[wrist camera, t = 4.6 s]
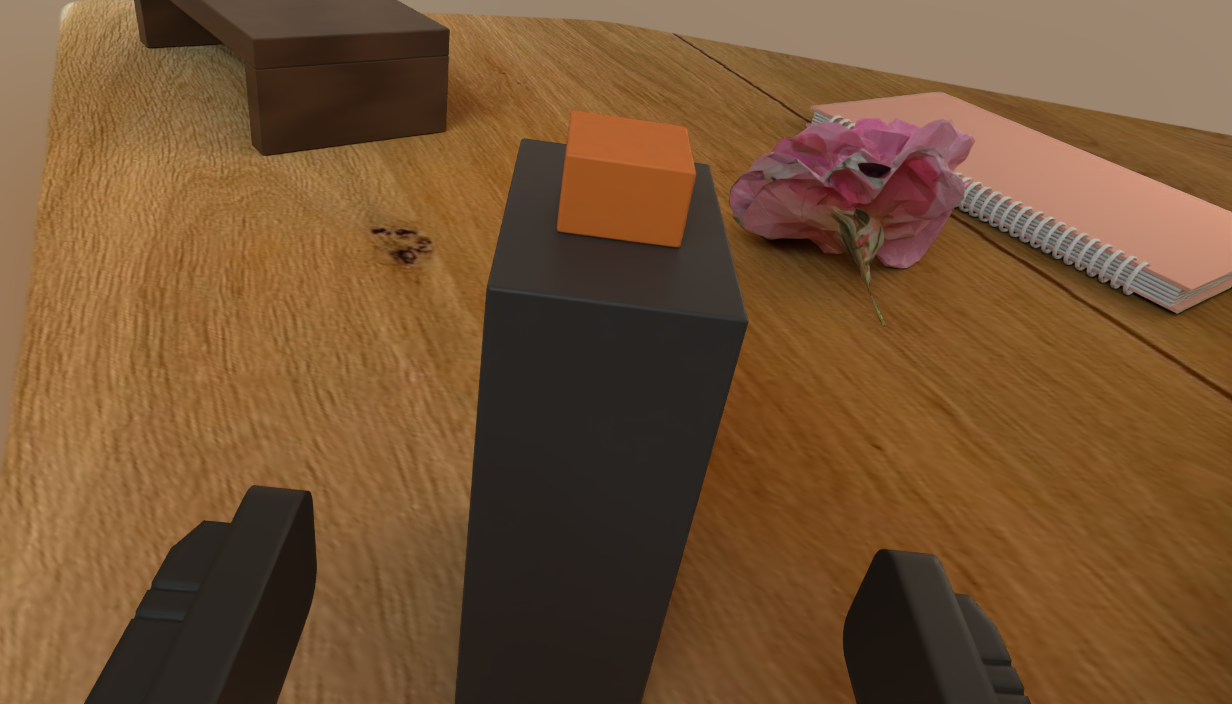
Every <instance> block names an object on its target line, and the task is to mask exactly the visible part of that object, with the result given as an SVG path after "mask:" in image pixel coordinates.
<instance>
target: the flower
mask: <svg viewBox="0 0 1232 704" xmlns="http://www.w3.org/2000/svg"><path fill="white" fill-rule="evenodd" d="M974 143H975V140H974V138H973V137H972V135H971V134H970V135H969V134H966V133H964V132H962V131H960V130H958V129H956V128H955V126H954V124H953V121H952V119H940V120H935V121H931V122H929V123H928V124H926V125H924V126H923V127H922V128H920V127H918V126H917V125H913V124H910V123H907V122H905V121H903V120H900V119H898V118H896V117H895V119H894V120H893V121H891V122H889V123H885V122H884V121H882V120H881V119H880V118H863V119H860V120H857V121H856V124H855V126H854V128H852V129H848V128H846V127H844V126H843V125H841V124H840V123H832V122H823V123H819V124H816V125H812V126H809V127H807V128H806V129H805V130H804V131H802V132H801V133H800V134H798V135H797V136H795V137H794V139H791V138H783V139H782V140H781V141H780V142H779V143H778V144H777V145H776V146H775V148H774V149H773V151H772V152H769V153H767V154H764V155H762V156H759V157H758V158H757V159H756V160H755V161H754V162H753V164H752V166H751V168H750V169H749V171H748V172H746V173H745V174H740V176H739V178H738V180H737V181H736V182H735V183H734V185H733V186H732V187H731V190H730V197H729V203H730V206H731V208H732V210H733V218H734V219H735V220H736V221H737V222H738V223H739V225H740V226H741V227H743V228H744V229H745V230H747V231H748V232H750V233H753V234H757V235H760V236H763V237H764V238H765V239H768V240H773V239H779V238H791V239H804V238H808V239H809V240H811V241H812V242H814V243H815V244H816V245H818V246H819V247H820V248H821V250H822V251H823V252H824V253H831V254H840V253H843V252H845V253H847V254H848V255H849V256H850V257H851V258H852V259H853V261H854V262H855V264H856V265H857V267H858V268H859V269H860V273H861V278H862V280H863V281H864V282H865V284H866V285H867V287H868V290H869V283H870V265H871V263H872V261H873V259H874V257H875V256H876V257H877V258H878V259H879V260H880V261H881V262H882V263H883V264H884V265H885V266H887V267H894V268H908V267H910V266H912V265H913V264H915V263H916V262H917V261H919V260H920V259H921V258H922V256H923V255H924V254H925V253H926V251H927V250H928V248H929V247H930V246H931V245H932V244H933V242H934V241H935V239H936V238H937V236H938V235H939V233H940V231H941V230H942V228H943V226H944V225H945V223H946V221H947V219H948V217H949V216H950V215H951V213H952V209H954V207H955V206H956V205H957V204H958V203H959V202H961V201H962V200H963V199H964V193H965V188H966V186H968V185H970V182H969V181H968V180H967V181H965V182H963V180H962V179H961V178H960V177H959V176H958V175H957V174H956V173H954V170H955V168H956V167H957V166H958V165H959V164H961V163H962V162H963V161H964V160H966V158H967V157H968V155H969V153H970V150H971V148H972V146H973V144H974ZM869 293H870V291H869ZM870 295H871V293H870ZM871 298H872V301H873V303H874V306H875V308H876V311H877V313H878V316H879V318H880V321H881V323H882V325H883V326H884V325H886V324H885V322H884V320H883V318H882V315H881V313H880V311H879V309H878V307H877V305H876V303H875V301H874V299H873V297H872V295H871Z"/></svg>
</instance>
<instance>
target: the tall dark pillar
mask: <svg viewBox="0 0 1232 704" xmlns="http://www.w3.org/2000/svg"><path fill="white" fill-rule="evenodd" d="M747 325H748V317H747V313H746V309H745V305H744V301H743V297H742V293H741V290H740V286H739V282H738V278H737V274H736V270H735V266H734V262H733V258H732V254H731V250H730V246H729V242H728V238H727V234H726V230H725V226H724V222H723V218H722V214H721V210H720V206H719V202H718V199H717V195H716V191H715V187H714V183H713V179H712V175H711V171H710V167H709V165H707V164H700V163H694V161H693V156H692V152H691V147H690V142H689V138H688V133H687V128H686V127H682V126H676V125H669V124H662V123H655V122H648V121H641V120H635V119H628V118H621V117H614V116H607V115H600V114H594V113H587V112H580V111H572V112H571V113H570V120H569V128H568V137H567V144H560V143H553V142H546V141H539V140H532V139H525V138H524V139H522V140H521V143H520V148H519V152H518V156H517V160H516V165H515V169H514V173H513V177H512V182H511V186H510V190H509V195H508V199H507V203H506V207H505V212H504V216H503V220H502V225H501V229H500V233H499V237H498V242H497V246H496V250H495V255H494V259H493V263H492V267H491V272H490V276H489V280H488V284H487V289H486V302H485V315H484V328H483V341H482V354H481V367H480V380H479V393H478V406H477V420H476V433H475V446H474V459H473V472H472V485H471V498H470V511H469V524H468V537H467V550H466V563H465V576H464V589H463V602H462V615H461V628H460V641H459V654H458V667H457V681H456V694H455V704H641V701H642V697H643V694H644V690H645V687H646V683H647V679H648V676H649V672H650V669H651V665H652V662H653V658H654V655H655V651H656V648H657V644H658V640H659V637H660V633H661V630H662V626H663V623H664V619H665V616H666V612H667V609H668V605H669V601H670V598H671V594H672V591H673V587H674V584H675V580H676V577H677V573H678V570H679V566H680V562H681V559H682V555H683V552H684V548H685V545H686V541H687V538H688V534H689V531H690V527H691V523H692V520H693V516H694V513H695V509H696V506H697V502H698V499H699V495H700V492H701V488H702V485H703V481H704V477H705V474H706V470H707V467H708V463H709V460H710V456H711V453H712V449H713V446H714V442H715V438H716V435H717V431H718V428H719V424H720V421H721V417H722V414H723V410H724V407H725V403H726V399H727V396H728V392H729V389H730V385H731V382H732V378H733V375H734V371H735V368H736V364H737V360H738V357H739V353H740V350H741V346H742V343H743V339H744V336H745V332H746V329H747Z"/></svg>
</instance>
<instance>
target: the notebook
mask: <svg viewBox="0 0 1232 704" xmlns="http://www.w3.org/2000/svg"><path fill="white" fill-rule="evenodd" d="M811 109H812V110H814V111H816V112H815V114H817V115H814V116H813V117H815V118H813V120H814V121H812V123H807V124H806V126H807V127H809V126H812V125H816V124H819V123H823V122H832V123H840V124H841V125H843V126H844V127H846V128H848V129H852V128H854V126H855V124H856V121H857V120H860V119H863V118H880V119H881V120H882V121H884V122H885V123H889V122H891V121H893V120H894V119H895V117H896V118H898V119H900V120H903V121H905V122H907V123H910V124H913V125H917V126H918V127H920V128H922V127H923V126H924V125H926V124H928V123H929V122H931V121H935V120H940V119H952V121H953V124H954V126H955V128H956V129H958V130H960V131H962V132H964V133H966V134H969V135H970V134H971V135H972V137H973V138H974V140H975V143H974V144H973V146H972V148H971V150H970V153H969V155H968V157H967V158H966V160H964V161H963V162H962V163H961V164H959V165H958V166H957V167H956V168H955V170H954V173H956V174H957V175H958V176H959V177H960V178H961V179H962V180H963V182H965V181H967V180H968V181H969V182H970V185H968V186H966V188H965V193H964V199H963V200H962V201H961V202H959V203H958V204H957V205H956V206H955V207H959V208H960V210H961V211H963V212H968V211H969V214H970V215H971V216H973V217H977V216H979V219H980V220H981V221H983V222H987V221H989V224H990V226H993V227H997V226H999V229H1000V231H1001V232H1007V231H1009V234H1010V236H1012V237H1018V236H1020V240H1021V241H1022V242H1024V243H1026V242H1029V241H1030V245H1031V246H1032V247H1034V248H1038V247H1040V246H1041V250H1042V252H1043V253H1049V252H1051V251H1052V256H1053V258H1055V259H1060V258H1062V257H1064V259H1063V261H1064V263H1065V264H1067V265H1071V264H1072V263H1074V262H1075V269H1077V270H1079V271H1082V270H1083V269H1085V268H1087V272H1086V273H1087V275H1088V276H1090V277H1092V276H1095V275H1097V274H1099V276H1098V279H1099V281H1100V282H1102V283H1104V282H1107V281H1108V280H1111V283H1110V285H1111V287H1112V288H1115V289H1117V288H1119V287H1120V286H1123V294H1126V295H1130V294H1132V293H1133V292H1135V293H1137V294H1139V295H1141V296H1143V297H1145V298H1147V299H1149V300H1151V301H1153V302H1155V303H1157V304H1159V305H1161V306H1163V307H1165V308H1167V309H1169V310H1171V311H1173V312H1175V313H1177V314H1178V313H1180V312H1182V311H1184V310H1186V309H1188V308H1190V307H1192V306H1194V305H1196V304H1198V303H1200V302H1202V301H1204V300H1206V299H1208V298H1210V297H1212V296H1215V295H1217V294H1219V293H1221V292H1223V291H1225V290H1227V289H1229V288H1231V287H1232V212H1230V211H1227V210H1225V209H1222V208H1220V207H1218V206H1215V205H1213V204H1210V203H1208V202H1206V201H1203V200H1201V199H1198V198H1196V197H1194V196H1191V195H1189V194H1186V193H1184V192H1181V191H1179V190H1177V189H1174V188H1172V187H1169V186H1167V185H1165V184H1162V183H1160V182H1157V181H1155V180H1153V179H1150V178H1148V177H1145V176H1143V175H1141V174H1138V173H1136V172H1133V171H1131V170H1128V169H1126V168H1124V167H1121V166H1119V165H1116V164H1114V163H1112V162H1109V161H1107V160H1104V159H1102V158H1100V157H1097V156H1095V155H1092V154H1090V153H1088V152H1085V151H1083V150H1080V149H1078V148H1075V147H1073V146H1071V145H1068V144H1066V143H1063V142H1061V141H1059V140H1056V139H1054V138H1051V137H1049V136H1047V135H1044V134H1042V133H1039V132H1037V131H1035V130H1032V129H1030V128H1027V127H1025V126H1022V125H1020V124H1018V123H1015V122H1013V121H1010V120H1008V119H1006V118H1003V117H1001V116H998V115H996V114H994V113H991V112H989V111H986V110H984V109H982V108H979V107H977V106H974V105H972V104H969V103H967V102H965V101H962V100H960V99H957V98H955V97H953V96H950V95H948V94H945V93H943V92H932V93H923V94H915V95H906V96H897V97H888V98H879V99H870V100H861V101H852V102H843V103H834V104H826V105H817V106H811ZM963 206H965V207H967V208H965V209H964V208H963ZM973 211H975V212H977V213H974V214H973ZM983 216H985V217H986V218H984V219H983ZM993 221H995V222H996V223H994V224H993ZM1003 226H1005V227H1007V228H1004V229H1003ZM1013 231H1014V232H1016V233H1015V234H1013ZM1024 237H1026V239H1024ZM1035 242H1036V243H1037V244H1036V245H1034V244H1035ZM1046 248H1048V249H1047V250H1046ZM1057 253H1058V254H1059V255H1057ZM1068 259H1070V260H1069V261H1068ZM1080 265H1082V266H1081V267H1080ZM1091 271H1094V272H1092V273H1091ZM1103 276H1104V277H1105V278H1104V279H1103ZM1116 283H1117V284H1116ZM1128 289H1129V290H1128Z"/></svg>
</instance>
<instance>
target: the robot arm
mask: <svg viewBox="0 0 1232 704" xmlns="http://www.w3.org/2000/svg"><path fill="white" fill-rule="evenodd" d="M316 574H317V560H316V545H315V529H314V514H313V500H312V495H311V493H310V491H304V490H294V489H285V488H275V487H266V486H256V485H253V486H251V487H250V488H249V489H248V491H247V492H246V494H245V496H244V498H243V500H242V502H241V504H240V506H239V508H238V510H237V512H236V514H235V516H234V518H233V520H232V522H231V523H225V522H215V521H205V520H204V521H203V522H201V523H200V524H199V525H198V526H197V527H196V528H194V529H193V530H192V531H191V532H190V533H189V534H187V535H186V536H185V537H184V538H183V539H181V540H180V541H179V542H178V543H177V544H176V545H174V546H173V547H172V548H171V549H170V551H169V553H168V555H167V556H166V558H165V560H164V562H163V563H162V565H161V567H160V569H159V571H158V572H157V574H156V576H155V578H154V580H153V581H152V586H151V589H150V590H147V592H146V594H145V596H144V597H143V599H142V601H141V603H140V605H139V606H138V608H137V610H136V615H135V618H134V619H131V621H130V622H129V624H128V626H127V628H126V630H125V631H124V633H123V635H122V637H121V638H120V640H119V642H118V644H117V646H116V647H115V649H114V651H113V653H112V655H111V656H110V658H109V660H108V662H107V663H106V665H105V667H104V669H103V671H102V672H101V674H100V676H99V678H98V679H97V681H96V683H95V685H94V687H93V688H92V690H91V692H90V694H89V696H88V697H87V699H86V701H85V703H84V704H277V701H278V698H279V695H280V692H281V690H282V687H283V684H284V681H285V678H286V675H287V673H288V670H289V667H290V664H291V661H292V659H293V656H294V653H295V650H296V647H297V644H298V642H299V639H300V636H301V633H302V630H303V628H304V625H305V622H306V619H307V616H308V613H309V610H310V607H311V603H312V599H313V595H314V590H315V583H316ZM843 649H844V656H845V661H846V665H847V669H848V672H849V676H850V680H851V684H852V688H853V691H854V695H855V699H856V703H857V704H1031V703H1030V701H1029V698H1028V696H1025V695H1024V687H1023V685H1022V683H1021V680H1020V678H1019V676H1018V674H1017V672H1016V669H1015V668H1013V667H1012V666H1011V661H1012V660H1011V658H1010V656H1009V654H1008V652H1007V649H1006V647H1005V645H1004V643H1003V640H1002V638H1001V636H1000V634H999V631H998V629H997V627H996V626H995V624H994V623H993V622H992V621H991V620H990V619H989V618H988V616H987V615H986V614H985V613H984V612H983V611H982V609H981V608H980V607H979V606H978V605H977V604H976V603H975V601H974V600H973V599H972V598H971V597H970V596H969V595H964V594H954V592H953V590H952V588H951V585H950V583H949V580H948V578H947V576H946V573H945V571H944V568H943V566H942V564H941V562H940V560H939V559H938V558H937V557H936V556H935V555H933V554H926V553H917V552H907V551H898V550H888V549H881V550H879V551H878V552H877V553H876V554H875V556H874V558H873V560H872V562H871V564H870V566H869V569H868V571H867V573H866V575H865V577H864V579H863V581H862V584H861V586H860V588H859V590H858V592H857V594H856V596H855V599H854V601H853V603H852V605H851V607H850V609H849V611H848V614H847V616H846V620H845V624H844V631H843Z"/></svg>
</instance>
